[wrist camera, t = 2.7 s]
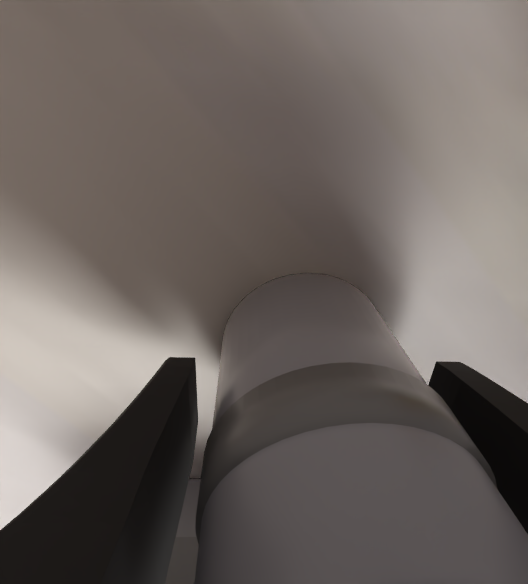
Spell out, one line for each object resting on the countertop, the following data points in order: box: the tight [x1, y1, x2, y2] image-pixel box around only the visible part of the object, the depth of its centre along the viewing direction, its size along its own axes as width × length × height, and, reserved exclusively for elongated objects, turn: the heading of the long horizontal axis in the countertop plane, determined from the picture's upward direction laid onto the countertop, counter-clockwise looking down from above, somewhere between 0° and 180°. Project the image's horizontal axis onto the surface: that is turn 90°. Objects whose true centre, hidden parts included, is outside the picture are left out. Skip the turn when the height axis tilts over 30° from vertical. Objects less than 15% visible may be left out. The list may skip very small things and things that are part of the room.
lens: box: [194, 273, 528, 584], centre depth 7 cm, size 5×5×7 cm
